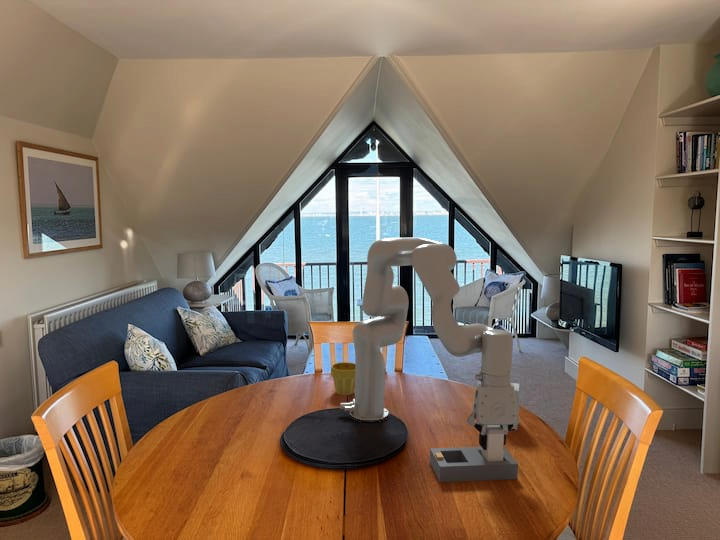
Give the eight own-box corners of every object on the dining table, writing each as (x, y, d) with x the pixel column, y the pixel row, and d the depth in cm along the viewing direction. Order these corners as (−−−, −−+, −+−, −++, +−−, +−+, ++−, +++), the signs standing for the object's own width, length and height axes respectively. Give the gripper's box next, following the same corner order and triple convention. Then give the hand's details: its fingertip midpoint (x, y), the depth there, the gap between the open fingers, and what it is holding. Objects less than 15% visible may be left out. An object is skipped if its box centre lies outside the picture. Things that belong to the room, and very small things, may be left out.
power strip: (439, 482, 131) (440, 464, 130) (429, 462, 141) (430, 446, 140) (517, 479, 133) (518, 461, 132) (502, 460, 143) (503, 443, 142)
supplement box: (518, 421, 169) (520, 383, 167) (517, 430, 162) (519, 390, 160) (494, 418, 171) (496, 380, 170) (492, 427, 164) (494, 387, 163)
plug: (487, 469, 134) (488, 430, 133) (481, 460, 139) (482, 423, 138) (502, 468, 134) (504, 429, 134) (495, 460, 139) (496, 422, 139)
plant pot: (359, 397, 188) (359, 370, 186) (329, 396, 188) (330, 370, 187) (359, 387, 198) (360, 362, 197) (331, 387, 198) (332, 361, 197)
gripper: (468, 384, 130) (465, 455, 132) (533, 383, 132) (529, 453, 134) (459, 374, 137) (456, 442, 139) (521, 373, 139) (517, 440, 141)
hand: (492, 446), depth 137 cm, fingers closed on plug, 3 cm apart
